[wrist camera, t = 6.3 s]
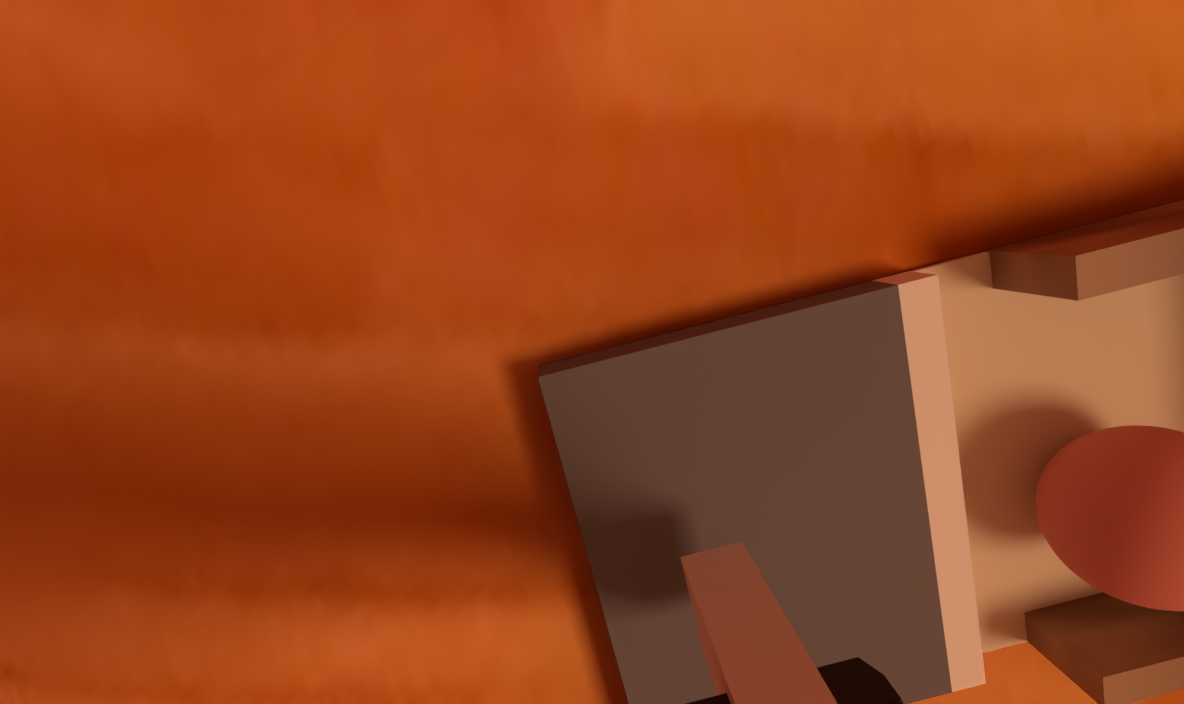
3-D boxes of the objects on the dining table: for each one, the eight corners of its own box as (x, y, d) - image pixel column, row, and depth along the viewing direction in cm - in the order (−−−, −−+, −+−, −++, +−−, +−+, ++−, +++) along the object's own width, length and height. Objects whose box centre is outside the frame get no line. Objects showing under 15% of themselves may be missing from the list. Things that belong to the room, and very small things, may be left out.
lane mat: (641, 735, 18) (647, 771, 17) (538, 365, 15) (537, 377, 14) (1272, 572, 18) (1322, 596, 17) (1276, 176, 16) (1335, 172, 14)
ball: (1051, 454, 18) (968, 526, 17) (1161, 364, 15) (1072, 441, 13) (1207, 575, 16) (1129, 672, 14) (1378, 499, 13) (1304, 614, 11)
